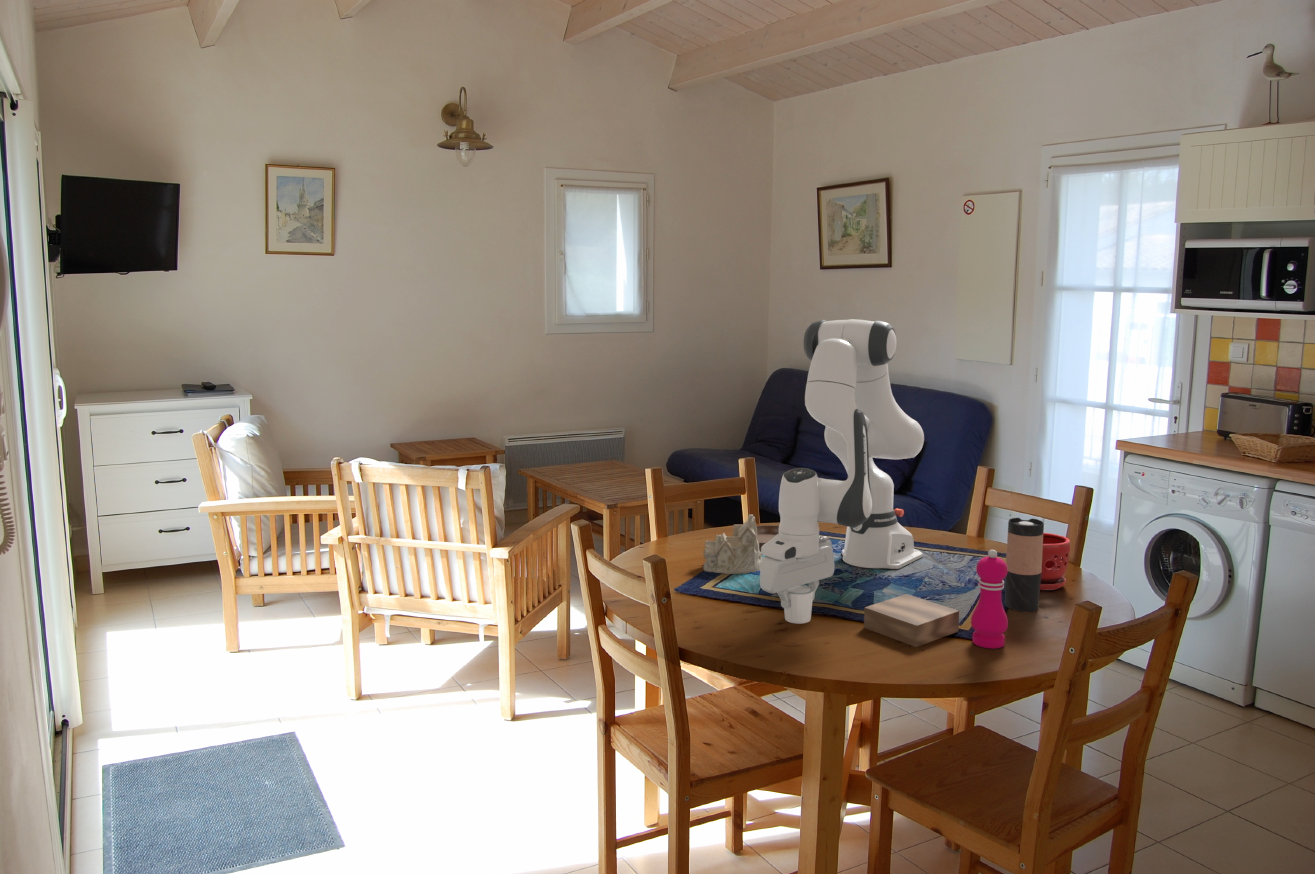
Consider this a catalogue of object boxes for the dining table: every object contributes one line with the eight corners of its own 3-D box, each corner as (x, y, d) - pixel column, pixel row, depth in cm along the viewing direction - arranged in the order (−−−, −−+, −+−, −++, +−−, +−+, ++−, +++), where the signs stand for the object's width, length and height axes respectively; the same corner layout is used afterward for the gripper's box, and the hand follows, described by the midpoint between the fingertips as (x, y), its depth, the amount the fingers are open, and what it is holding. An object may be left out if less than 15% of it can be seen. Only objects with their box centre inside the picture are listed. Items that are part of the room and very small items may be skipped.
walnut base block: (905, 615, 220) (906, 593, 219) (958, 633, 209) (959, 610, 208) (863, 629, 211) (864, 607, 211) (916, 648, 200) (917, 625, 200)
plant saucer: (750, 554, 267) (750, 544, 266) (729, 538, 284) (729, 527, 283) (810, 549, 271) (810, 538, 271) (785, 532, 288) (785, 522, 288)
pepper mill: (964, 637, 205) (968, 545, 202) (997, 635, 206) (1002, 544, 202) (978, 650, 198) (982, 555, 195) (1013, 648, 199) (1017, 554, 195)
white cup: (812, 625, 213) (812, 594, 212) (780, 623, 214) (781, 593, 213) (813, 614, 220) (814, 584, 219) (783, 612, 221) (783, 583, 220)
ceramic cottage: (766, 556, 264) (763, 503, 261) (760, 577, 248) (756, 520, 245) (709, 557, 267) (705, 504, 264) (700, 578, 251) (695, 522, 248)
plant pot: (1075, 583, 238) (1078, 536, 236) (1054, 597, 229) (1057, 548, 227) (1023, 573, 247) (1025, 527, 245) (1001, 585, 238) (1003, 538, 236)
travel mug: (1022, 614, 218) (1027, 527, 215) (996, 604, 225) (1000, 519, 221) (1046, 608, 222) (1051, 523, 218) (1020, 598, 228) (1024, 515, 225)
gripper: (820, 531, 223) (819, 589, 225) (755, 548, 211) (755, 609, 213) (841, 537, 218) (840, 596, 220) (776, 554, 206) (775, 617, 208)
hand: (797, 603), depth 217 cm, fingers open, 6 cm apart
